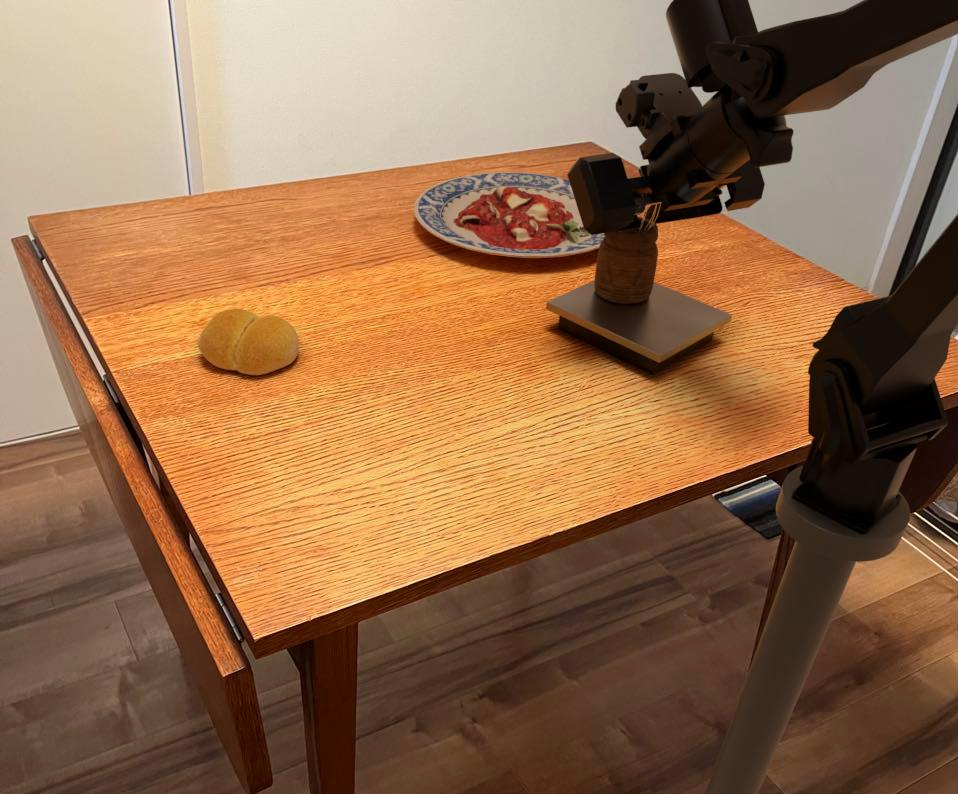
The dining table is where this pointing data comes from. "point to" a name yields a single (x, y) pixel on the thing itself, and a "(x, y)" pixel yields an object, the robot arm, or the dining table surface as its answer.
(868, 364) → the robot arm
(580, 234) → the ceramic plate
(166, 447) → the dining table surface
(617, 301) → the utensil holder
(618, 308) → the platform
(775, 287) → the dining table surface
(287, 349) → the bread roll
